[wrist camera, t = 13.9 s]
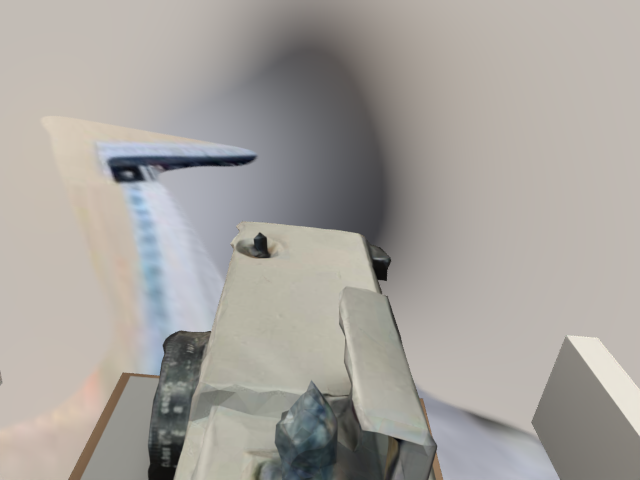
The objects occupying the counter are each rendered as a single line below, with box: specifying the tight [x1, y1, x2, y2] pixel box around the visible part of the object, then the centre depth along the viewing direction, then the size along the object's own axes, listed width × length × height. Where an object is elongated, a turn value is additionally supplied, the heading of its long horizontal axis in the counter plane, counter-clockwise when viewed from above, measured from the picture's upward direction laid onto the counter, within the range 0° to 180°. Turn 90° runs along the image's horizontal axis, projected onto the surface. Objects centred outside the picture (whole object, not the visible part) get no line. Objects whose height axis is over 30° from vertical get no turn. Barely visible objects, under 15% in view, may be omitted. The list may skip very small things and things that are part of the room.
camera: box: [148, 222, 437, 480], centre depth 15 cm, size 15×8×10 cm, turn 0°
